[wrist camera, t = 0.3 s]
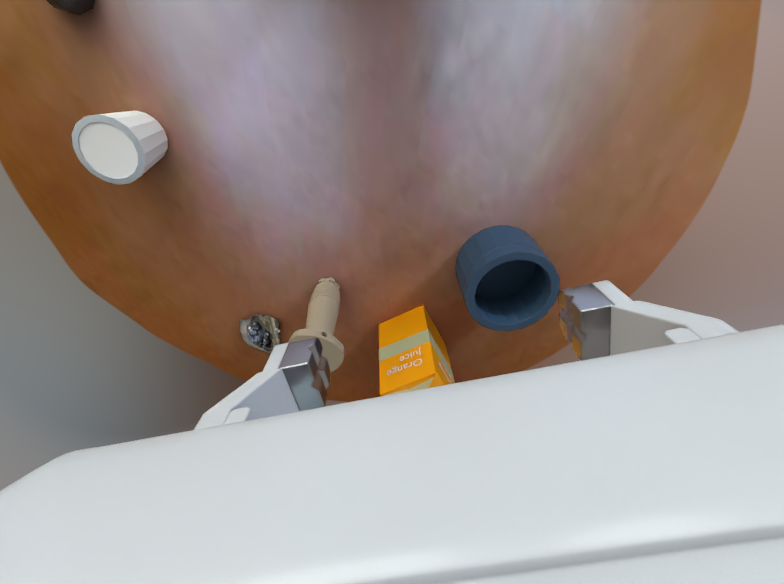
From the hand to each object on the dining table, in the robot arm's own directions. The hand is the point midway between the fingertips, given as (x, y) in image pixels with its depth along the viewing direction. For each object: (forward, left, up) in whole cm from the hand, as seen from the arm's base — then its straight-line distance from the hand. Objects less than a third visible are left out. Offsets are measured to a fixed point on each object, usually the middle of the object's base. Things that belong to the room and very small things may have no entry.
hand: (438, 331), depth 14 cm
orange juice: (+31, -3, -39) cm, 50 cm away
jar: (+21, +10, -39) cm, 46 cm away
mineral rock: (+25, -26, -39) cm, 53 cm away
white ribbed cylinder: (-5, -29, -39) cm, 49 cm away
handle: (+19, -14, -39) cm, 46 cm away
